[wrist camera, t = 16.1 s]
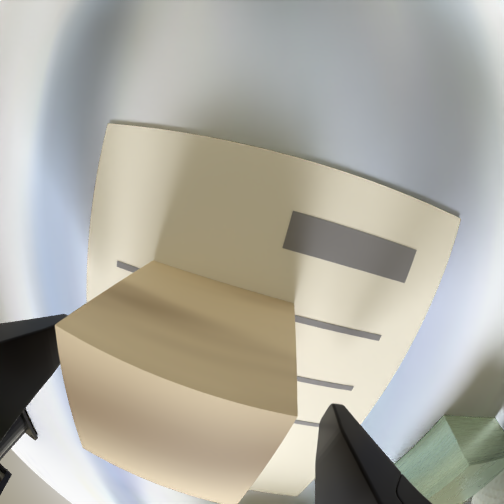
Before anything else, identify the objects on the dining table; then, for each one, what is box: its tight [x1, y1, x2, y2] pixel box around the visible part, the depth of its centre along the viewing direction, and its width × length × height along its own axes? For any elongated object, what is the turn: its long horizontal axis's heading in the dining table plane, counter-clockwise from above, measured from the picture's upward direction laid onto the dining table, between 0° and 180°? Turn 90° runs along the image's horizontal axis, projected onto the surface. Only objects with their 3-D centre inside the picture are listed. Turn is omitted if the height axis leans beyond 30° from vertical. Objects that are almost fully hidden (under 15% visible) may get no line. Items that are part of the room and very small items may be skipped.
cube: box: [55, 260, 298, 504], centre depth 7 cm, size 5×5×5 cm
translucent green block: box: [394, 415, 504, 504], centre depth 9 cm, size 6×6×4 cm
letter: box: [87, 123, 461, 496], centre depth 10 cm, size 18×13×1 cm
